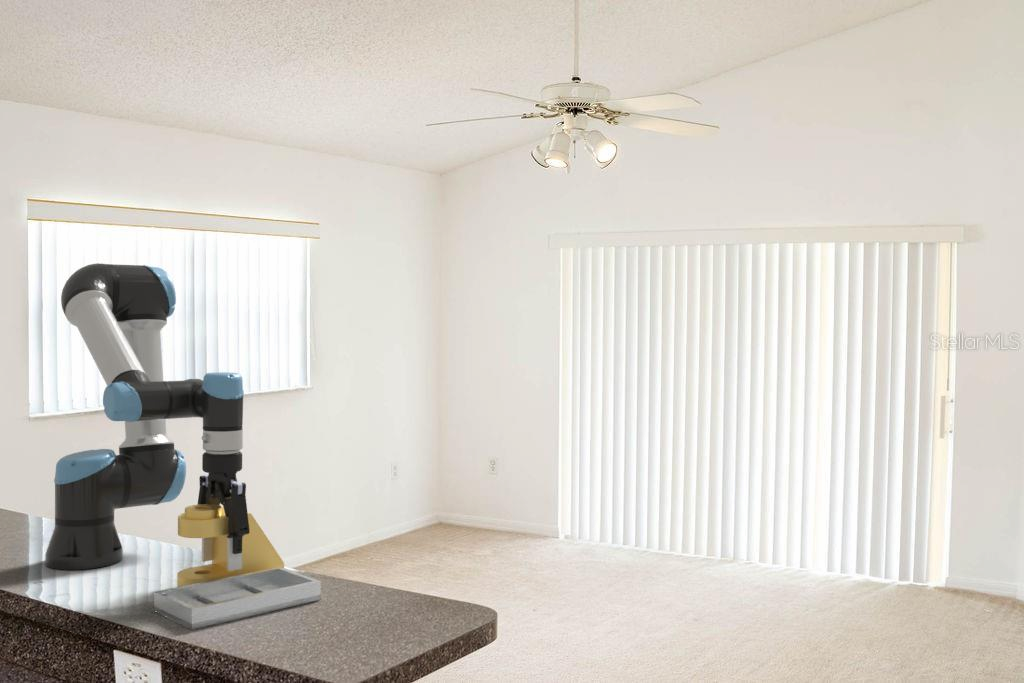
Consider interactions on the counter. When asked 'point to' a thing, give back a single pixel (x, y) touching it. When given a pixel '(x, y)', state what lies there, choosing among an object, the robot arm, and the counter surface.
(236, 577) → the tray
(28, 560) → the counter surface
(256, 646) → the counter surface
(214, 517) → the yellow mounting bracket
